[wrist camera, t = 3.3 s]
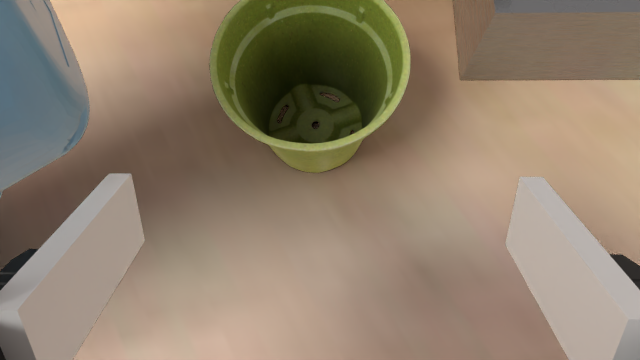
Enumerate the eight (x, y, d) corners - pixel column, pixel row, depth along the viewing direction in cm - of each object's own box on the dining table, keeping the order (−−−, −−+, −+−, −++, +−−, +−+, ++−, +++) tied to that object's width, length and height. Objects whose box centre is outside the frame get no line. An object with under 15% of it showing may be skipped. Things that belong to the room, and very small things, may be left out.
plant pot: (358, 223, 29) (370, 180, 20) (217, 168, 30) (174, 107, 22) (408, 92, 31) (437, 7, 23) (276, 47, 32) (258, -50, 24)
